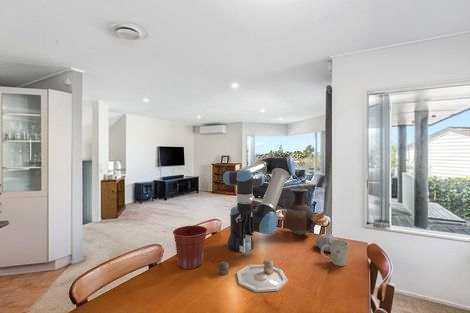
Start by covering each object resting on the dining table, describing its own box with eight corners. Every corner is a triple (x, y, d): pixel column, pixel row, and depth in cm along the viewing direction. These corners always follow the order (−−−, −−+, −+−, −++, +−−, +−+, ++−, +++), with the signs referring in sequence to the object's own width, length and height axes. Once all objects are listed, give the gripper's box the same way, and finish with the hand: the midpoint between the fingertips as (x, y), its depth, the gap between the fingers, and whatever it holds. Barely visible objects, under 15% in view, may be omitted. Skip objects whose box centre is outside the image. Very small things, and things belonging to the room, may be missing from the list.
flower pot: (166, 263, 113) (166, 230, 113) (193, 253, 125) (193, 223, 125) (186, 275, 102) (186, 239, 102) (214, 263, 114) (214, 230, 114)
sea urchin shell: (337, 244, 138) (337, 231, 137) (344, 254, 124) (344, 239, 124) (313, 243, 140) (313, 229, 140) (317, 252, 127) (317, 237, 126)
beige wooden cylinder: (262, 272, 103) (262, 261, 103) (266, 269, 106) (266, 258, 106) (269, 275, 100) (269, 264, 100) (274, 272, 103) (274, 260, 103)
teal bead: (239, 253, 113) (239, 243, 113) (244, 250, 116) (244, 240, 116) (246, 255, 111) (246, 245, 110) (251, 252, 114) (251, 242, 113)
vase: (322, 240, 145) (322, 191, 144) (292, 242, 142) (292, 192, 141) (304, 228, 167) (305, 186, 167) (279, 230, 164) (279, 187, 164)
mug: (350, 268, 109) (350, 246, 109) (322, 265, 112) (322, 244, 112) (345, 260, 117) (345, 240, 117) (319, 257, 120) (319, 238, 120)
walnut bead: (217, 275, 102) (217, 264, 102) (223, 271, 105) (223, 260, 105) (224, 278, 100) (224, 266, 100) (230, 274, 103) (230, 263, 103)
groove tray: (228, 281, 97) (228, 277, 97) (255, 264, 113) (255, 260, 113) (269, 300, 85) (269, 295, 85) (294, 278, 100) (294, 274, 100)
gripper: (240, 206, 104) (240, 258, 104) (261, 200, 117) (261, 246, 118) (227, 204, 108) (228, 254, 109) (248, 198, 122) (249, 242, 122)
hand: (245, 250), depth 113 cm, fingers closed on teal bead, 4 cm apart
